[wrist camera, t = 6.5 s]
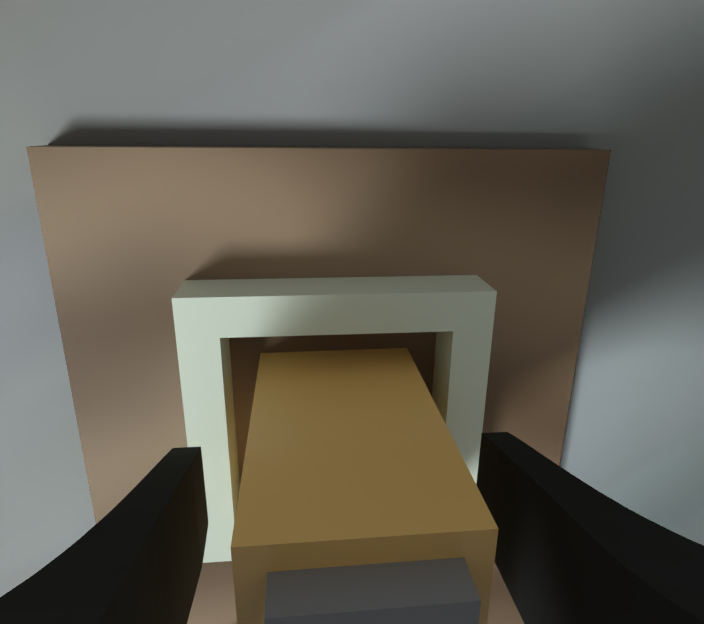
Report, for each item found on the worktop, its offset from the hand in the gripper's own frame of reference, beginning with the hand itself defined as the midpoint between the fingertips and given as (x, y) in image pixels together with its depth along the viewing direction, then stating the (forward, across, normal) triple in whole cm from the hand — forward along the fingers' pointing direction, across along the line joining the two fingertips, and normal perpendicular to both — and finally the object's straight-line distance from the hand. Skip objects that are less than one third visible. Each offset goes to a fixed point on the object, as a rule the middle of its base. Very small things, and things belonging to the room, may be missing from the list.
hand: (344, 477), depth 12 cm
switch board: (+4, 0, +6) cm, 7 cm away
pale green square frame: (+4, 0, 0) cm, 4 cm away
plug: (+3, 0, 0) cm, 3 cm away
